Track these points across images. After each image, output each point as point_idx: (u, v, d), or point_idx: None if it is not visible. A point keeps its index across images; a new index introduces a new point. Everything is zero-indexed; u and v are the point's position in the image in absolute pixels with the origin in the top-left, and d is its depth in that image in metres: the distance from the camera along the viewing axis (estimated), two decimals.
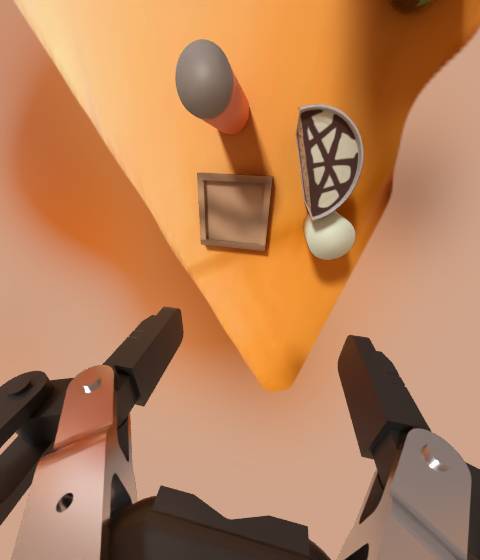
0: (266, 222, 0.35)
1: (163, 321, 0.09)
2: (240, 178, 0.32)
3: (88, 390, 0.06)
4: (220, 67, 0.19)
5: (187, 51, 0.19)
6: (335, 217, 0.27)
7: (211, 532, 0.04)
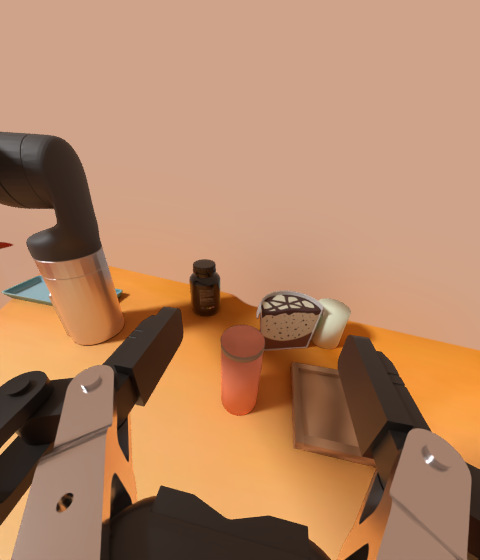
0: (334, 370, 0.34)
1: (163, 321, 0.09)
2: (296, 388, 0.31)
3: (88, 390, 0.06)
4: (237, 329, 0.27)
5: (224, 345, 0.25)
6: None
7: (211, 532, 0.04)
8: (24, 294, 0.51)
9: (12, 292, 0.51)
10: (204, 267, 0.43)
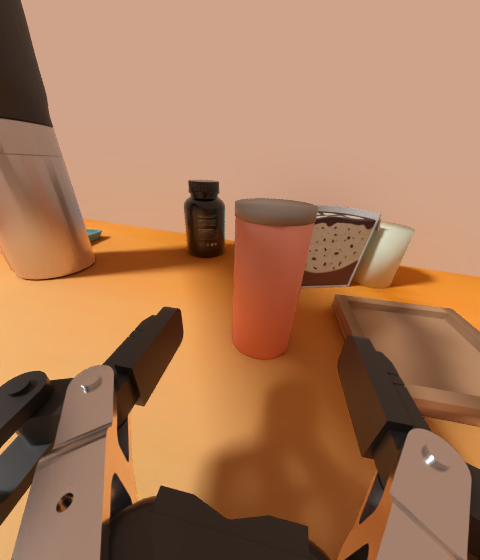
0: (401, 303, 0.23)
1: (163, 321, 0.09)
2: (352, 322, 0.19)
3: (88, 390, 0.06)
4: (263, 200, 0.15)
5: (243, 204, 0.13)
6: None
7: (211, 532, 0.04)
8: None
9: None
10: (203, 181, 0.31)
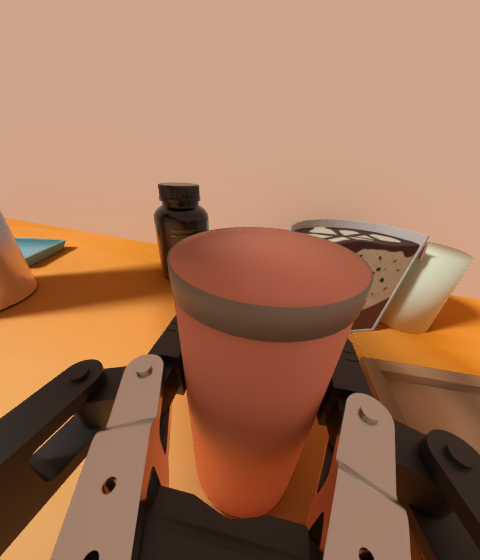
0: (464, 375, 0.15)
1: None
2: None
3: (143, 377, 0.06)
4: (243, 233, 0.08)
5: (180, 262, 0.05)
6: None
7: (211, 532, 0.04)
8: None
9: None
10: (177, 185, 0.23)
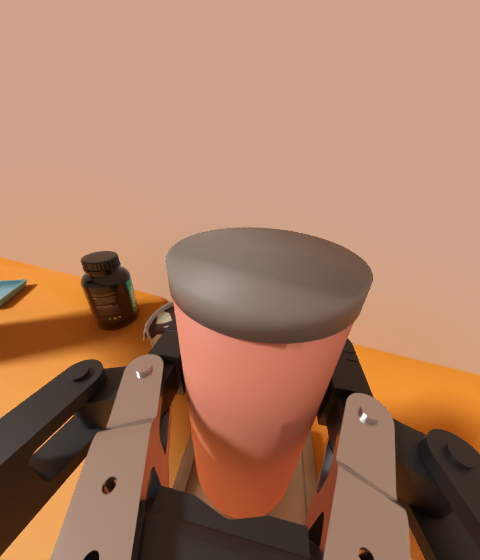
0: None
1: None
2: (186, 462, 0.18)
3: (143, 377, 0.06)
4: (242, 233, 0.08)
5: (179, 263, 0.05)
6: None
7: (211, 532, 0.04)
8: None
9: None
10: (94, 261, 0.30)
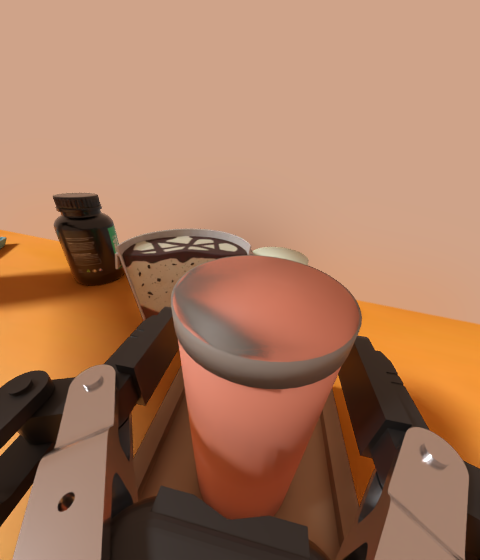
0: None
1: (164, 321, 0.09)
2: (164, 412, 0.14)
3: (90, 389, 0.06)
4: (242, 264, 0.08)
5: (183, 305, 0.05)
6: None
7: (211, 532, 0.04)
8: None
9: None
10: (68, 196, 0.25)
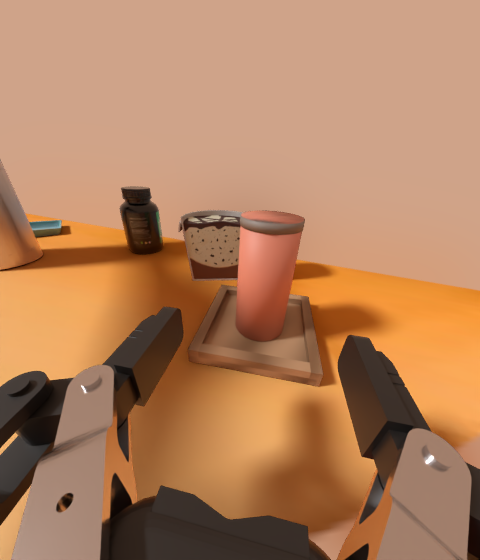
0: None
1: (163, 321, 0.09)
2: (215, 305, 0.25)
3: (88, 390, 0.06)
4: (263, 212, 0.19)
5: (246, 217, 0.17)
6: None
7: (211, 532, 0.04)
8: None
9: None
10: (132, 188, 0.36)
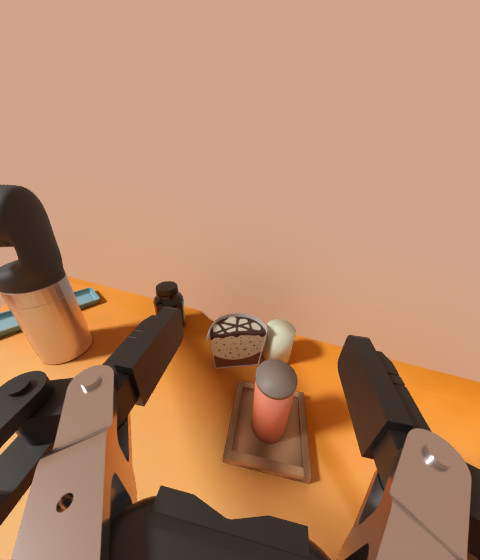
0: None
1: (163, 321, 0.09)
2: (236, 406, 0.35)
3: (88, 390, 0.06)
4: (270, 364, 0.29)
5: (259, 382, 0.27)
6: None
7: (211, 532, 0.04)
8: None
9: None
10: (165, 290, 0.46)
